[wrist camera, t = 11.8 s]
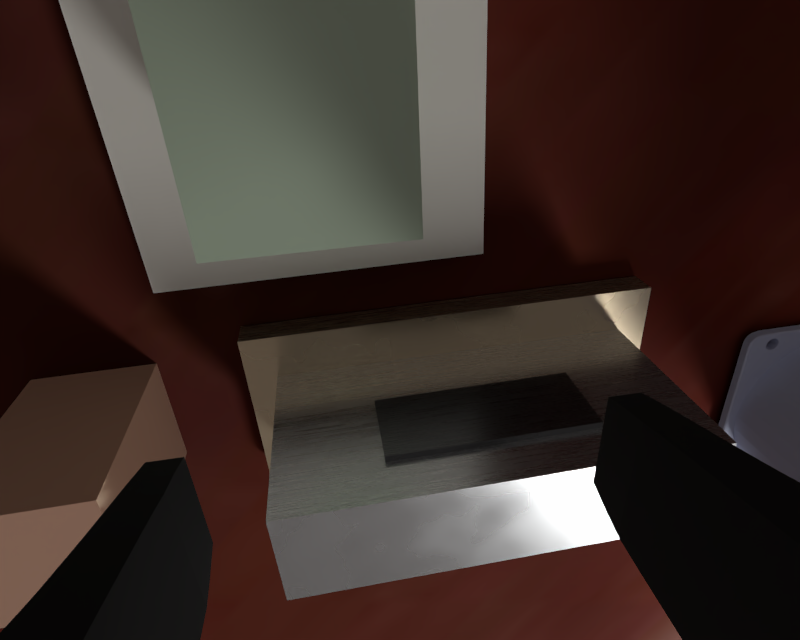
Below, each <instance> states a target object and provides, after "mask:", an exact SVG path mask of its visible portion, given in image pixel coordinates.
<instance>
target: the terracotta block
mask: <svg viewBox="0 0 800 640" xmlns="http://www.w3.org/2000/svg"><path fill="white" fill-rule="evenodd" d="M186 454H187V451H186V448H185V445H184V442H183V439H182V436H181V434H180V431H179V428H178V425H177V422H176V419H175V416H174V413H173V410H172V407H171V404H170V401H169V398H168V395H167V393H166V390H165V387H164V384H163V381H162V378H161V375H160V372H159V369H158V366H157V363H156V364H149V365H141V366H133V367H126V368H118V369H110V370H103V371H95V372H87V373H80V374H72V375H65V376H57V377H49V378H42V379H34V380H30V381H29V383H28V384H27V385H26V386H25V388H24V389H23V390H22V392H21V393H20V394H19V395H18V397H17V398H16V399H15V401H14V402H13V403H12V404H11V406H10V407H9V408H8V409H7V411H6V412H5V413H4V415H3V416H2V417H1V418H0V628H4V627H6V626H7V625H8V624H9V623H10V622H11V620H12V619H13V618H14V617H15V616H16V615H17V614H18V613H19V612H20V611H21V609H22V608H23V607H24V606H25V605H26V604H27V603H28V602H29V601H30V599H31V598H32V597H33V596H34V595H35V594H36V593H37V591H38V590H39V589H40V588H41V587H42V586H43V584H44V583H45V582H46V581H47V580H48V579H49V577H50V576H51V575H52V574H53V573H54V571H55V570H56V569H57V568H58V567H59V566H60V564H61V563H62V562H63V561H64V560H65V558H66V557H67V556H68V555H69V554H70V553H71V551H72V550H73V549H74V548H75V547H76V545H77V544H78V543H79V542H80V541H81V539H82V538H83V537H84V536H85V535H86V533H87V532H88V531H89V530H90V529H91V527H92V526H93V525H94V524H95V522H96V521H97V520H98V519H99V518H100V516H101V515H102V514H103V513H104V511H105V510H106V509H107V508H108V506H109V505H110V504H111V503H112V502H113V500H114V499H115V498H116V497H117V495H118V494H119V493H120V492H121V491H122V489H123V488H124V487H125V486H126V484H127V483H128V482H129V481H130V480H131V478H132V477H133V476H134V475H135V474H136V473H137V471H138V470H139V469H140V468H141V467H142V465H143V464H144V463H145V462H152V461H159V460H166V459H173V458H180V457H184V458H185V457H186Z"/></svg>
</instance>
